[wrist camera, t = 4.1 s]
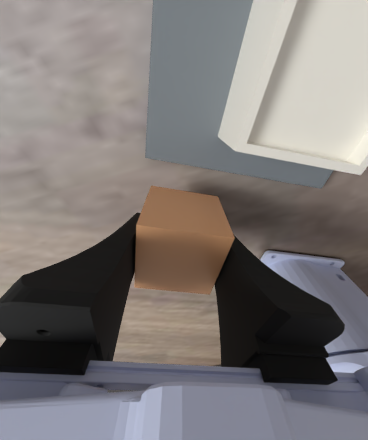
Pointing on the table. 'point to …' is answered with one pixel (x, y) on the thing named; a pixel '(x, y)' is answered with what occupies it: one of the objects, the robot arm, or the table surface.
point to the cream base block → (302, 84)
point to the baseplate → (203, 90)
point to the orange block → (181, 241)
